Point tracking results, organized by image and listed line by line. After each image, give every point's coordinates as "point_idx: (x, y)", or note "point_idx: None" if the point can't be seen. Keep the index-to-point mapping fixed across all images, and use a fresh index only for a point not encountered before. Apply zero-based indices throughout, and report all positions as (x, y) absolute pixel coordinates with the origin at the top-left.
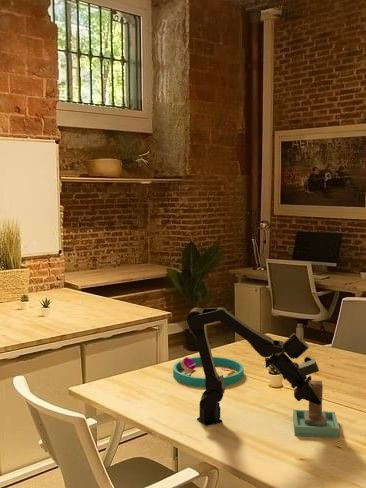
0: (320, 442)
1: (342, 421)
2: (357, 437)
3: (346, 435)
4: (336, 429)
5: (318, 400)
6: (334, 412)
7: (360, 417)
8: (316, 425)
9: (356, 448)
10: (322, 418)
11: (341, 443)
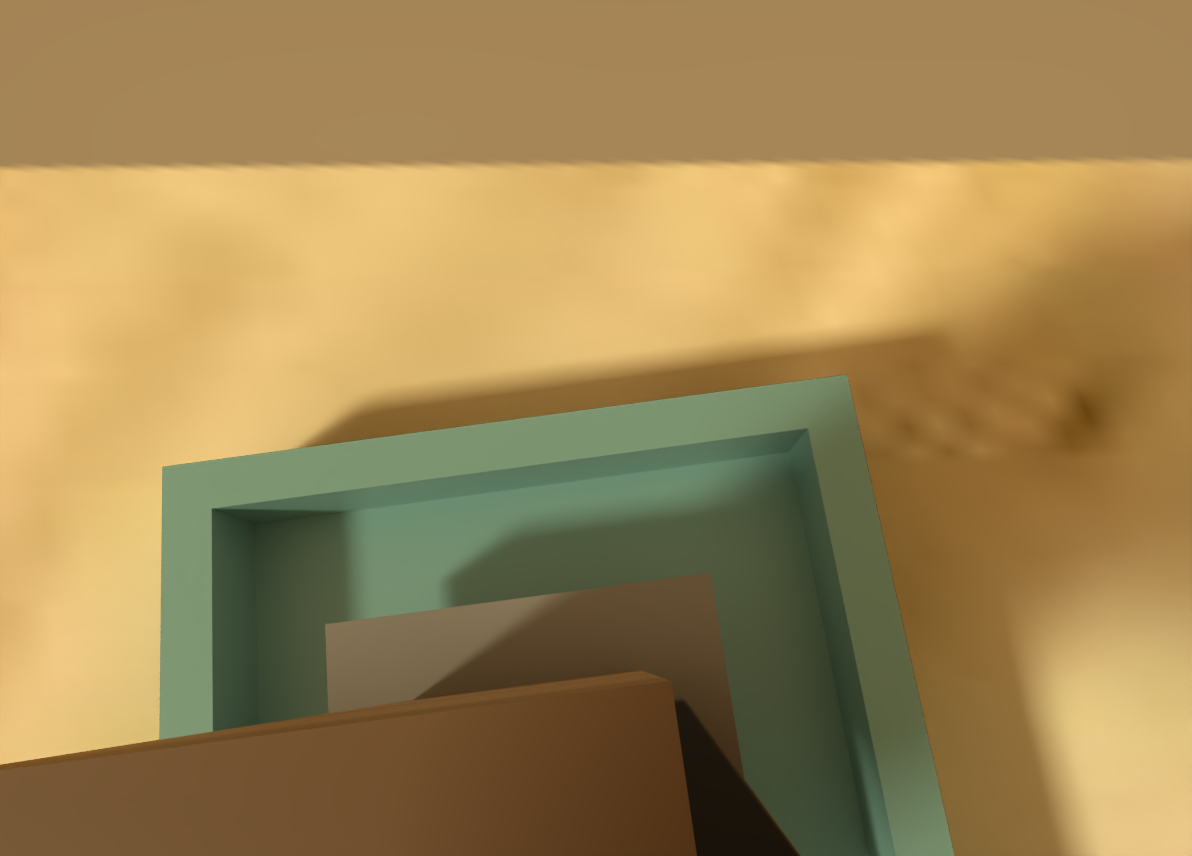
0: (1049, 660)
1: (252, 389)
2: (713, 206)
3: (696, 330)
4: (851, 418)
5: (749, 794)
6: (190, 469)
7: (86, 179)
8: None
9: (1034, 213)
10: (617, 654)
11: (964, 383)
